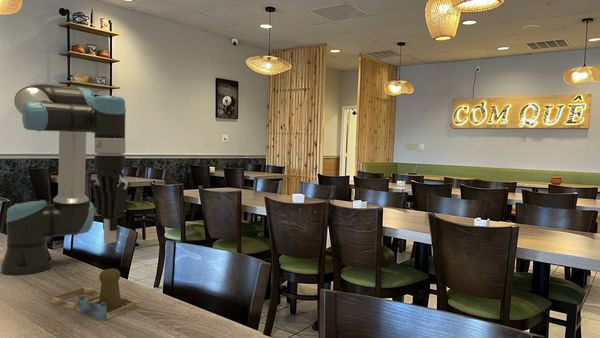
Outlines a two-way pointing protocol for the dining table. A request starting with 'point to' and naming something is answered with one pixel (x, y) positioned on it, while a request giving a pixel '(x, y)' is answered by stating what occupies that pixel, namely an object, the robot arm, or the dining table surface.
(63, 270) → the dining table surface
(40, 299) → the dining table surface
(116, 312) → the caddy
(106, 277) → the cork
